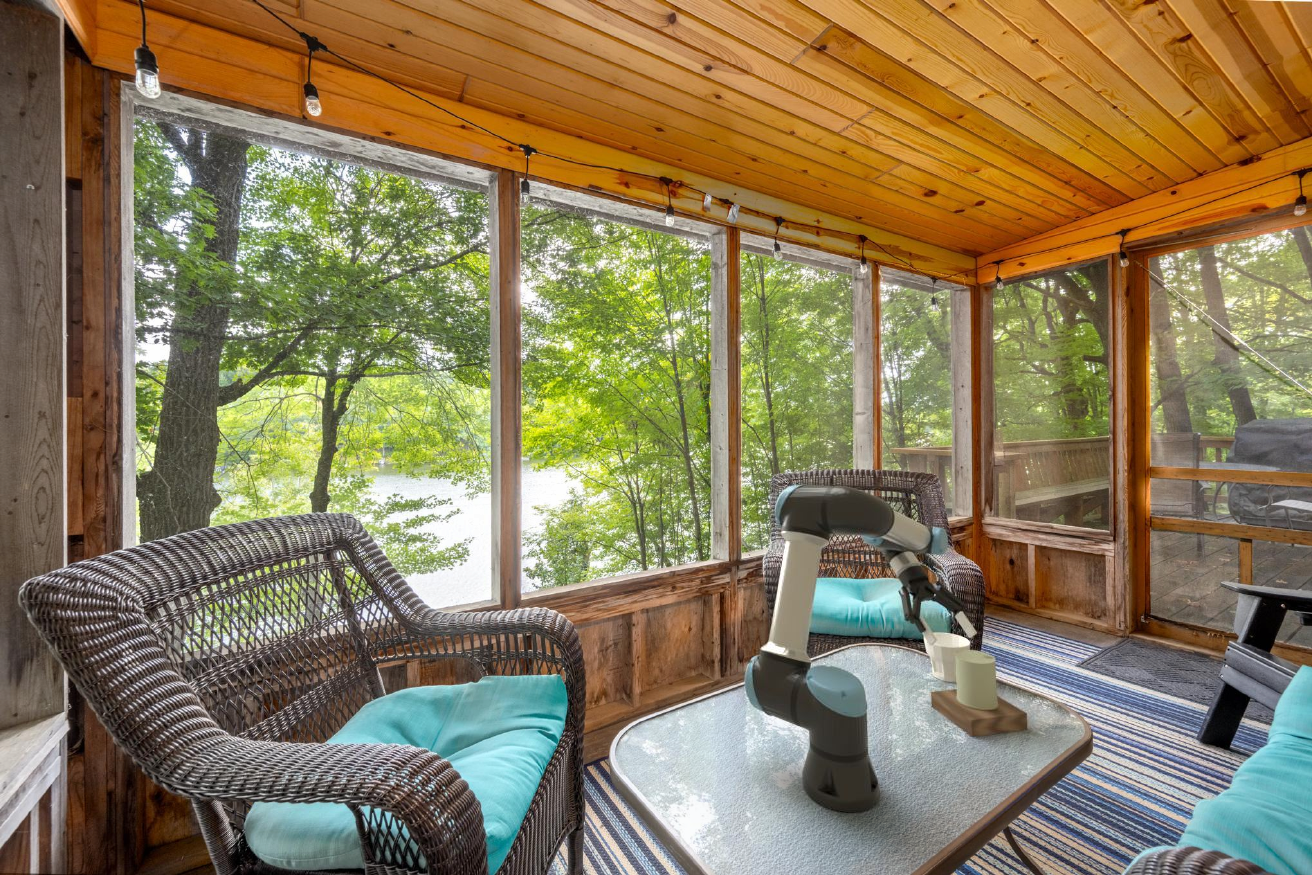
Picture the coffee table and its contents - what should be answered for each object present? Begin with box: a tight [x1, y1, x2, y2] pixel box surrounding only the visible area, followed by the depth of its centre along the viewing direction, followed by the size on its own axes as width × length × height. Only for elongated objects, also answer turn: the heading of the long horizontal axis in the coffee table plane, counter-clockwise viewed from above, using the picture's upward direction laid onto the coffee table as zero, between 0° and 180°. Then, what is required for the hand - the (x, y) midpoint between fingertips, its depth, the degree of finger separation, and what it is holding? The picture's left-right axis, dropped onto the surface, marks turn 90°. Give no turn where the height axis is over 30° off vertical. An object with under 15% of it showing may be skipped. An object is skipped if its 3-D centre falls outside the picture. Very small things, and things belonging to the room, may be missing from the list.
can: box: [955, 649, 998, 710], centre depth 137 cm, size 9×9×12 cm
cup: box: [923, 632, 971, 683], centre depth 161 cm, size 12×12×11 cm
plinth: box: [930, 688, 1029, 738], centre depth 137 cm, size 15×15×4 cm
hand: (953, 639), depth 144 cm, fingers open, 13 cm apart
